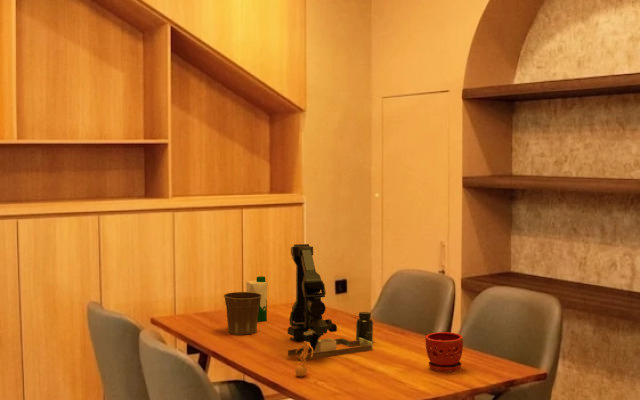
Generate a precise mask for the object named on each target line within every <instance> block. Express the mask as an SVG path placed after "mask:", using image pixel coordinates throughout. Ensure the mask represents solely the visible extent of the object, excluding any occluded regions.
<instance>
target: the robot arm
mask: <svg viewBox="0 0 640 400" xmlns="http://www.w3.org/2000/svg"><path fill="white" fill-rule="evenodd" d="M290 254H291V257H292V258H291V260H292V261H293V263H294V264H295V301H294V303H293V305H292V306H291V307H292V309H291V311H290V315H289V319H288V320H289V325H290V326H289V327H288V328H287V335H290V336H291V337H290V338H289V339H290V340H293V341H294V342H296V343H297V342H298V343H299V342H304V341H306V342H309V343H310V345H311V347H312V348H313V353H314V350H315V347H316V344H317V341H318V340H320V338H321V337H322V336H324V334H327V333H328V332H330V333H335V332H337V331H338V326H337V324H336V323H334V322H333V321H332V320H331V319H330V318H326V319H323V315H324V313H325V312H326V308H327V307H326V305H325V303H324V302H323V301H322V298H325V297H326V291H327V290H326V288H325V283H324V281H323V280H322V277H321V275H320V274H319V273H318V272H317V271H316V267H315V263H314V258H313V256H314V246H310V243H303V244H302V243H300V244H299V243H298V244H297V243H296V244H293V245H292V246H291V248H290ZM310 350H311V353H312V349H311V348H310Z"/></svg>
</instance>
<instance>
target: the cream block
mask: <svg viewBox="0 0 640 400" xmlns="http://www.w3.org/2000/svg"><path fill="white" fill-rule="evenodd" d="M332 350H337V344H336V341H335V340H333V338H329V337H328V338H321V339H318V341H317V344H316V347H315V350H314V352H313V353H318V352H325V351H332Z"/></svg>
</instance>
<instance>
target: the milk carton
mask: <svg viewBox="0 0 640 400" xmlns="http://www.w3.org/2000/svg"><path fill="white" fill-rule="evenodd" d="M245 281H246V280H245ZM245 283H246V285H245V286H246V287H245V289H246V291H245V292H253V293H259V294H261V295H262V297H261V300H260V305H259V312H258V322H257V323H263V322H267V320H268V282H267V281H266V276H263V275H262V276H256V279H255V280H249V281H248V280H247V281H246V282H245Z"/></svg>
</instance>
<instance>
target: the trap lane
mask: <svg viewBox="0 0 640 400" xmlns="http://www.w3.org/2000/svg"><path fill="white" fill-rule="evenodd" d="M332 339H333V338H332ZM333 340H335V341H336V345H341V344H342V345H345V346H347V348H346V347H345V348H340V349H336V350H332V351H325V352H318V353H314V352H313V357H312V358H311V355H312V352H311V350H310V348H309V350H308V355H307V357H306V358H305V359H306V361H311V360H314V359H322V358H323V359H324V358H328V357H334V356H343V355H349V354H355V353H360V352H361V353H363V352H368V351H373V349H374V341H372V342H370V341H368V340H365V339H363V338H359V340H356V339H355V340H351V341H350V340H348V339H346V338H335V339H333ZM303 344H304V343H302V344H301V345H303ZM297 349H298V348H293V349H288V350H287V356H289V357H290V356H295V355H298V361H299V362H302V360H301V359H300V355H301V354H302V351H304V349H303V346H302V347H301V348H300V349H299V350H298V351H297ZM296 351H297V352H296ZM302 359H303V357H302Z"/></svg>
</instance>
